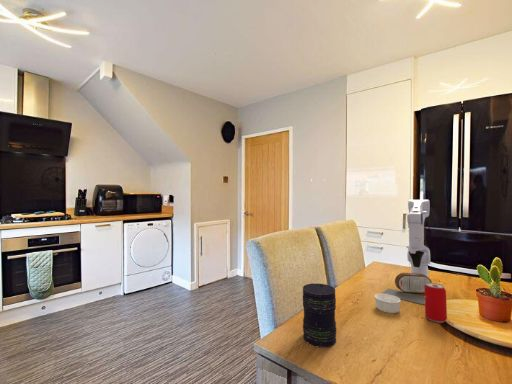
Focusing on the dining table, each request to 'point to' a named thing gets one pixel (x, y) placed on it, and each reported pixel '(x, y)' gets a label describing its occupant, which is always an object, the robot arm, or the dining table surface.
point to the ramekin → (387, 303)
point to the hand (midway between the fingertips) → (416, 267)
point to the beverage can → (435, 302)
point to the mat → (406, 296)
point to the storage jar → (319, 315)
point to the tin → (411, 282)
